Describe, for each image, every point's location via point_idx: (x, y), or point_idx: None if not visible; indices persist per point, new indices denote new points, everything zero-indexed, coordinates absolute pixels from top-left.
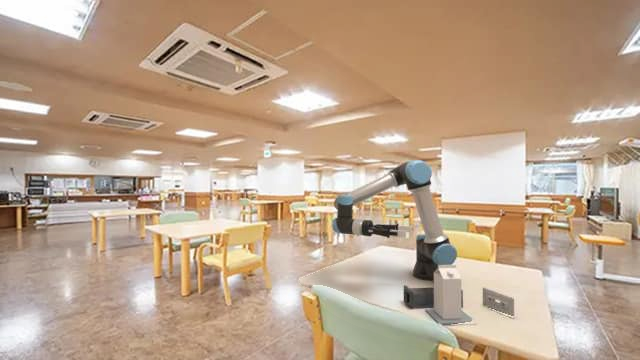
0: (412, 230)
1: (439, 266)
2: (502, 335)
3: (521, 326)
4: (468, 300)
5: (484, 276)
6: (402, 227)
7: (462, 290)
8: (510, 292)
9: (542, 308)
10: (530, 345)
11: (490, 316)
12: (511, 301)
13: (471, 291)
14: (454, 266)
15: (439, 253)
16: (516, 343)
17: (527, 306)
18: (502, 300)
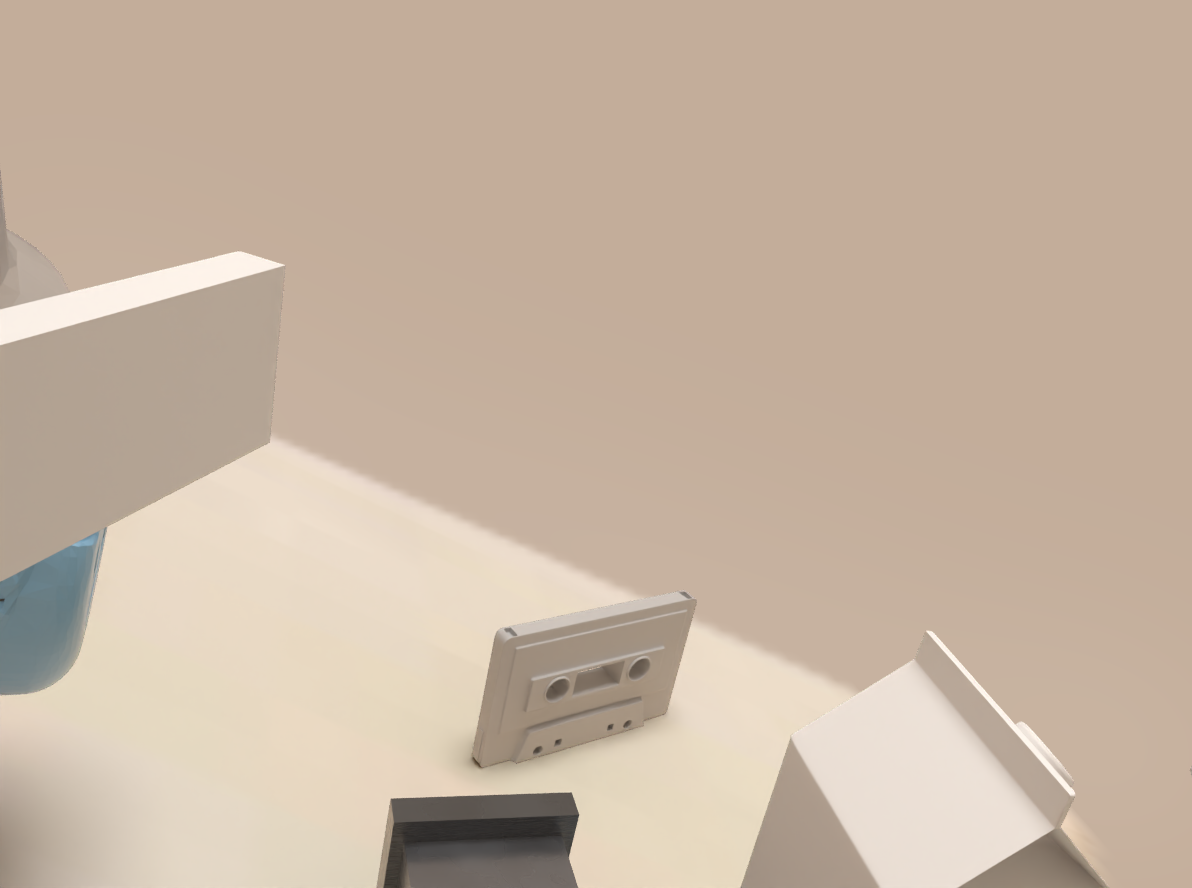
0: (260, 375)
1: (1058, 797)
2: None
3: (766, 730)
4: (375, 814)
5: None
6: (29, 399)
7: (570, 795)
8: (234, 526)
9: (486, 535)
10: None
11: (671, 812)
12: (684, 619)
13: (169, 705)
14: (936, 659)
15: (97, 541)
16: None
17: (465, 570)
18: (636, 646)
